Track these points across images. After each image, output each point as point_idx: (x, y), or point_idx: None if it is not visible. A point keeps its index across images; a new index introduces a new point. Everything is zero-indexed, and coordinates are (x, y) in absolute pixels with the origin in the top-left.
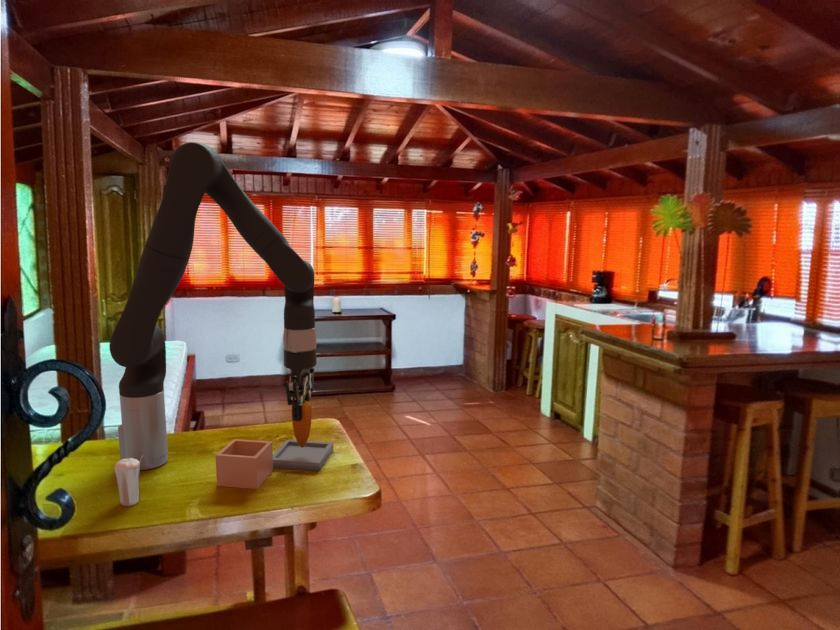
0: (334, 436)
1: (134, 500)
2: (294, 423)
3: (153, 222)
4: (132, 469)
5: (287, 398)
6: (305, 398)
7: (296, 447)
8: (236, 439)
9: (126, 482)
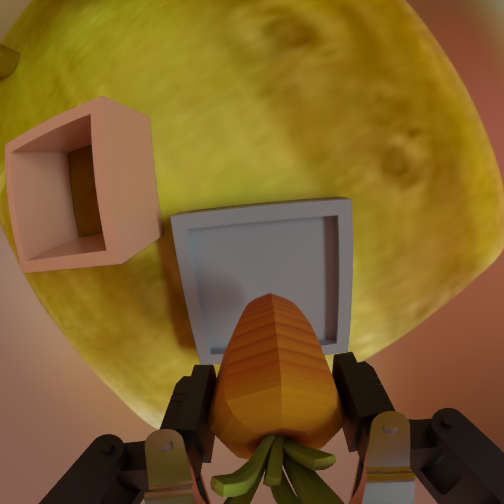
0: (429, 301)
1: (2, 75)
2: (229, 343)
3: None
4: None
5: (71, 469)
6: (352, 438)
7: (314, 249)
8: (101, 106)
9: None
